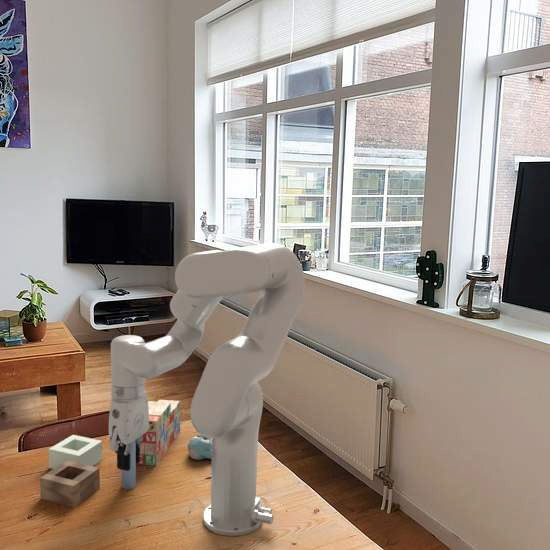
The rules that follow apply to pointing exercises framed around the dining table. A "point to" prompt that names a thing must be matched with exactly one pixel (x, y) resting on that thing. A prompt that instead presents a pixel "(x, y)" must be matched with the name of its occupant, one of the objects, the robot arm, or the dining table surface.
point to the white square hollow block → (76, 451)
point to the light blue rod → (130, 475)
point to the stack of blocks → (159, 430)
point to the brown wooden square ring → (70, 483)
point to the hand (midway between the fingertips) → (128, 464)
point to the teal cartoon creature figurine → (200, 447)
